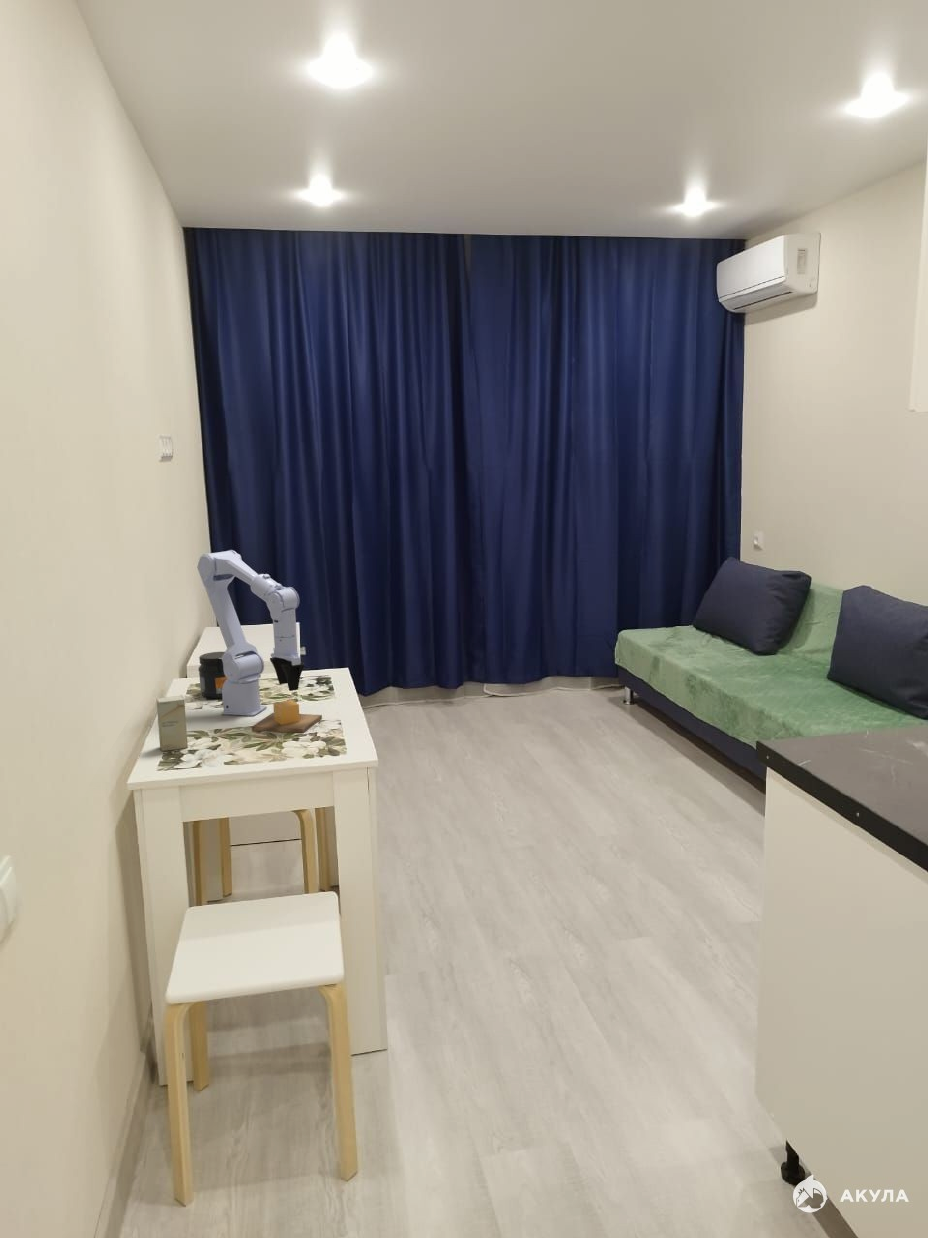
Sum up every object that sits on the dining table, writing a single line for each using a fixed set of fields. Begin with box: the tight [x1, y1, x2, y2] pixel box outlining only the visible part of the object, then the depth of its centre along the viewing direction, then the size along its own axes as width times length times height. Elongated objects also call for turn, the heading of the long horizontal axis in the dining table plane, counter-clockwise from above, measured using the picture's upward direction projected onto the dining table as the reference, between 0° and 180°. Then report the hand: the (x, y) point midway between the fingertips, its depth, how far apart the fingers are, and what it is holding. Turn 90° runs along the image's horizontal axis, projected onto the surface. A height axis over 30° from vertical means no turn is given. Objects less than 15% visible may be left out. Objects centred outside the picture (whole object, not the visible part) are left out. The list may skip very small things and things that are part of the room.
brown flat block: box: [251, 712, 323, 734], centre depth 231 cm, size 14×12×4 cm
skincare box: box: [155, 694, 189, 752], centre depth 215 cm, size 6×4×12 cm
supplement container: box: [198, 651, 227, 700], centre depth 260 cm, size 10×10×12 cm
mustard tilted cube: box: [272, 699, 300, 725], centre depth 231 cm, size 5×5×4 cm
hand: (288, 686), depth 232 cm, fingers open, 7 cm apart
